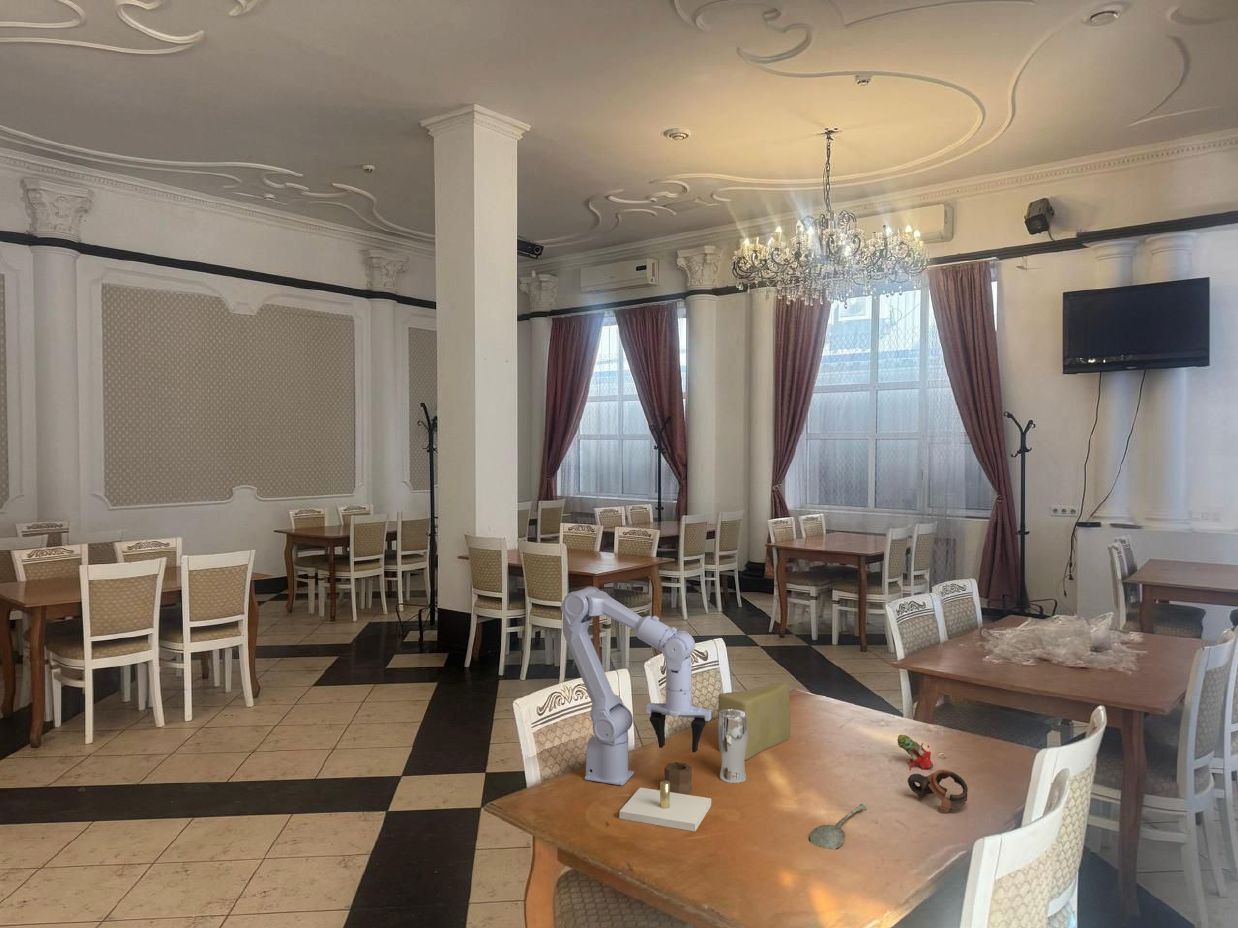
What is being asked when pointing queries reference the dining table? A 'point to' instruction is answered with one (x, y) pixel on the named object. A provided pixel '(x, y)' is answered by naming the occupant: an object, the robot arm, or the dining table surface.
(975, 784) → the dining table surface
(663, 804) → the brass rod
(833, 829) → the soupspoon
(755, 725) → the cheese
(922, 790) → the brown looped clamp
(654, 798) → the white rectangular board
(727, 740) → the beer glass
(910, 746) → the figurine
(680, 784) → the walnut bead
